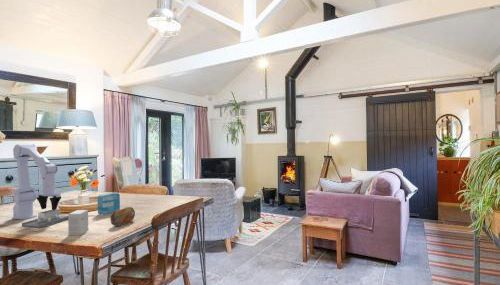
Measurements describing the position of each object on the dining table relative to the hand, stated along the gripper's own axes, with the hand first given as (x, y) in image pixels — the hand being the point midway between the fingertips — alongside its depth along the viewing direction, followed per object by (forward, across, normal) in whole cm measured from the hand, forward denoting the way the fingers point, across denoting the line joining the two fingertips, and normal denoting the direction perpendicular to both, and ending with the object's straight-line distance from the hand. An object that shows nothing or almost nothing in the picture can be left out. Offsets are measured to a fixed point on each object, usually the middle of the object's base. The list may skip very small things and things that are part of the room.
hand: (49, 209), depth 154 cm
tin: (+7, +44, +6) cm, 45 cm away
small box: (+7, +33, -12) cm, 36 cm away
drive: (+6, 0, 0) cm, 6 cm away
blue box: (+7, +19, +24) cm, 32 cm away
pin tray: (+7, 0, 0) cm, 7 cm away
